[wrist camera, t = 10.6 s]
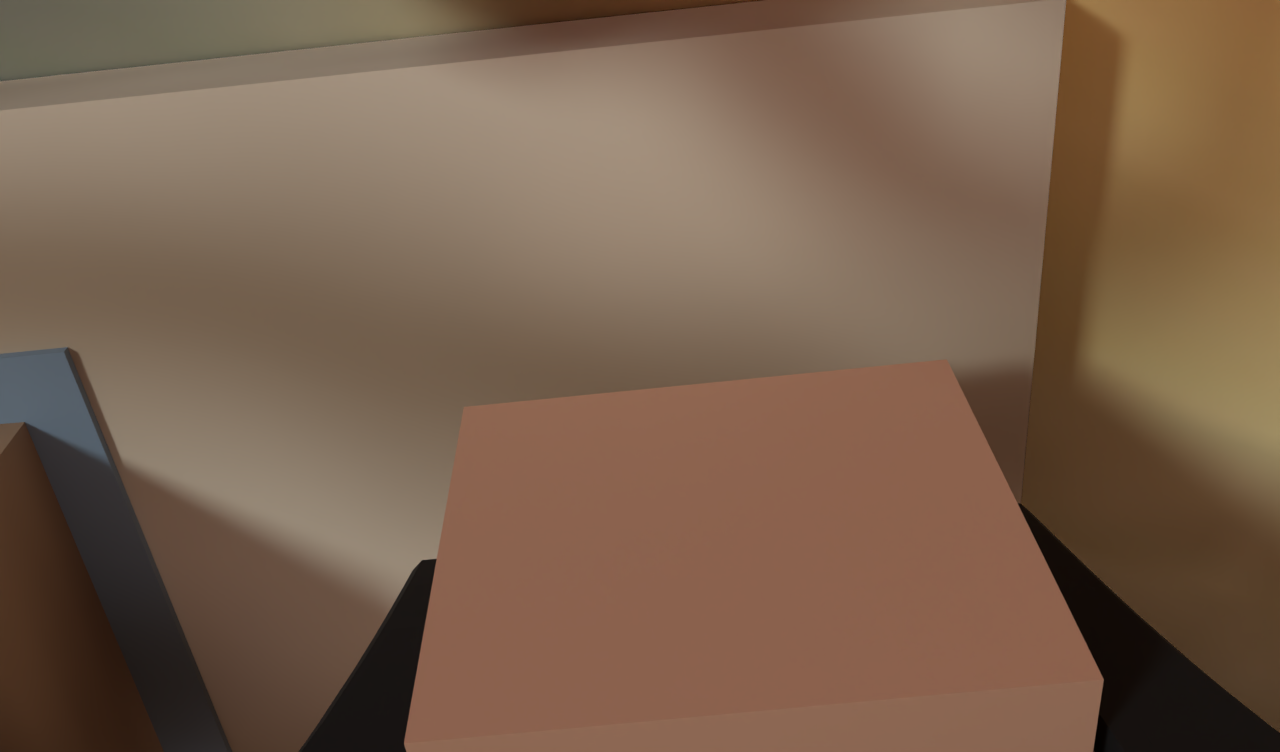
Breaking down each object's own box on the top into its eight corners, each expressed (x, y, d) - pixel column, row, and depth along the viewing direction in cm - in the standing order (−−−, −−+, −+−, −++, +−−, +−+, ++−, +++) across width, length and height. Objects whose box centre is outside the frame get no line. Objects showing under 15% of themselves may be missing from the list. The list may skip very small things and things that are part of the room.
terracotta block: (931, 702, 13) (1046, 1066, 10) (533, 738, 13) (510, 1108, 10) (946, 359, 11) (1103, 679, 8) (464, 407, 11) (404, 744, 8)
